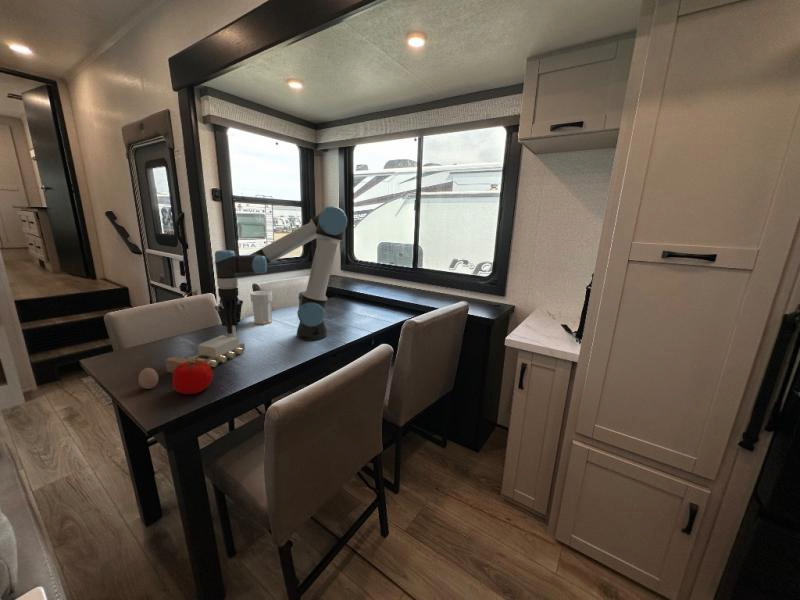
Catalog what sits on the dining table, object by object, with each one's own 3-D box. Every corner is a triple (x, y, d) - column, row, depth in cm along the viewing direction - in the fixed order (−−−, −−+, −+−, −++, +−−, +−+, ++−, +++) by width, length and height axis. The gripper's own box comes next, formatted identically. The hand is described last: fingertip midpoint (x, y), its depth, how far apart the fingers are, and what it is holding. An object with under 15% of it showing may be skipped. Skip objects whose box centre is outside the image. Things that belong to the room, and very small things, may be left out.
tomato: (165, 394, 103) (160, 365, 101) (198, 379, 114) (194, 352, 112) (190, 402, 99) (186, 372, 97) (222, 386, 110) (219, 358, 107)
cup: (259, 318, 185) (257, 290, 181) (277, 320, 184) (275, 291, 180) (248, 324, 175) (245, 294, 170) (267, 326, 173) (265, 295, 169)
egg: (153, 392, 105) (149, 371, 103) (136, 392, 104) (132, 371, 103) (163, 384, 110) (160, 364, 108) (147, 384, 110) (143, 364, 108)
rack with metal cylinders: (250, 351, 140) (249, 340, 139) (195, 378, 115) (194, 365, 114) (225, 346, 144) (224, 336, 143) (167, 371, 119) (165, 359, 117)
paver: (239, 346, 137) (238, 338, 136) (216, 357, 125) (215, 347, 124) (222, 343, 139) (221, 335, 138) (198, 354, 128) (197, 344, 127)
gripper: (233, 283, 140) (237, 333, 146) (207, 289, 128) (213, 343, 134) (246, 285, 138) (250, 336, 144) (222, 290, 126) (227, 346, 132)
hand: (232, 339), depth 139 cm, fingers closed
